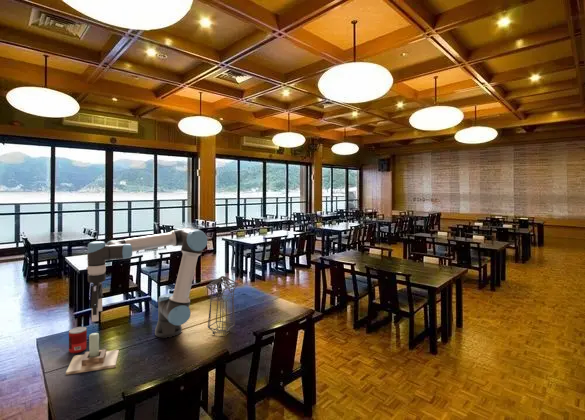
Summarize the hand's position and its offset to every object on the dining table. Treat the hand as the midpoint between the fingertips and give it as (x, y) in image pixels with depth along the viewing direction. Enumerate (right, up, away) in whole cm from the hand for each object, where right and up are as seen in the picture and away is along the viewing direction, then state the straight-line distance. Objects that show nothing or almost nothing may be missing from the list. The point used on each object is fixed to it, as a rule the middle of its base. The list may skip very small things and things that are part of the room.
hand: (97, 315), depth 162 cm
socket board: (-1, -23, -1) cm, 23 cm away
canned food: (-17, -22, +11) cm, 30 cm away
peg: (-1, -23, 0) cm, 23 cm away
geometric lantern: (+53, -23, +38) cm, 69 cm away
